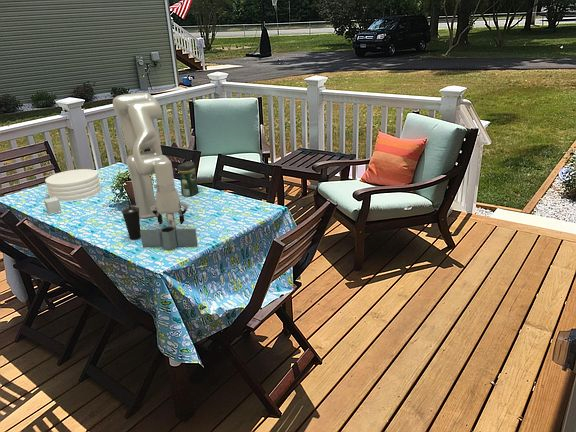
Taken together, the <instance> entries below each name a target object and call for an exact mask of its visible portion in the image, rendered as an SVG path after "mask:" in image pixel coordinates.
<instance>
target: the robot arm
mask: <svg viewBox="0 0 576 432" xmlns="http://www.w3.org/2000/svg"><path fill="white" fill-rule="evenodd" d="M112 107H113V110H114V113H115V115H116V116H117V118H118V121H119V122H120V125H121V129H122V134H123V138H124V143H125V146H126V148H127V150H129V151H131V152H132V153H131V154H130V155H129V156H128V157H126V160H125V161H126V166H127V168H128V172H129V175H130V179H131V183H132V184H131V185H132V190H133V196H134V201H135V205H133V206H134V207H138V208H139V218H140V219H147V218H148V219H149V218H153V217H157V219H156V220H157V222H158V225H159V226H160V225H162V224H163V222H164V221H163V215H162V214H166V213H174V214H178V215H179V224H180V225H183V224H184V222H185V216H184V215H185V214H186V212H187V211H188V208H189V205H188V204H186V203H184V202H182V201H181V198H180V195H179V192H178V189H177V188H176V186H175V185H176V184H175V179H174V172H173V165H172V161H171V159H169V157H167V156H166V155H163V152H162V147H161V142H160V138H159V134H158V132H157V131H156V130H155V127H154V124H153V121H152V120H157V119H158V120H159V119H160V118H161V117H162V114H163V111H162V107H161V104H160V103H159V101H158V100H157V99H156V98H155V97H154V96H153V95H151V94H150V93H149V92H135V93H125V94H120V95H116V96H115V97H113V100H112ZM147 149H150V150H149V151H142V150H147ZM141 151H142V152H141ZM151 175H155V181H156V184H154V185H153V180H152V178H151V177H150V176H151ZM154 189H156V191H155V190H154Z"/></svg>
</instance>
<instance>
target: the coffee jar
mask: <svg viewBox="0 0 576 432" xmlns="http://www.w3.org/2000/svg"><path fill="white" fill-rule="evenodd" d="M177 172H178V173H179V177H180V180H179V181H180V190H181V192H180V193H181V195H182V196H184V197H192V196H194V195H196V194H198V193H199V187H198V182H197V176H196V164H195V162H194V161H190V160H187V161H185V162H182V163H181V164H178V165H177Z"/></svg>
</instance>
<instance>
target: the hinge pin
mask: <svg viewBox="0 0 576 432" xmlns="http://www.w3.org/2000/svg"><path fill="white" fill-rule="evenodd" d="M165 217H166V222H167V226H173V227H175V228H177V226H176V217H175V213H165Z"/></svg>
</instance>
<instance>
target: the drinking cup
mask: <svg viewBox="0 0 576 432" xmlns="http://www.w3.org/2000/svg"><path fill="white" fill-rule="evenodd" d="M126 198H127V204H128V206H126V207H125V208H123V209H121V214H122V216H123V220H124V223H125V226H126V230H127V233H128V237H129V239H130V240H131V241H135V240H140V239H141V235H140V230H141V218H139V208H138V207H134V206H135V205H131V201H130V197H129V195H128V196H126Z"/></svg>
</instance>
